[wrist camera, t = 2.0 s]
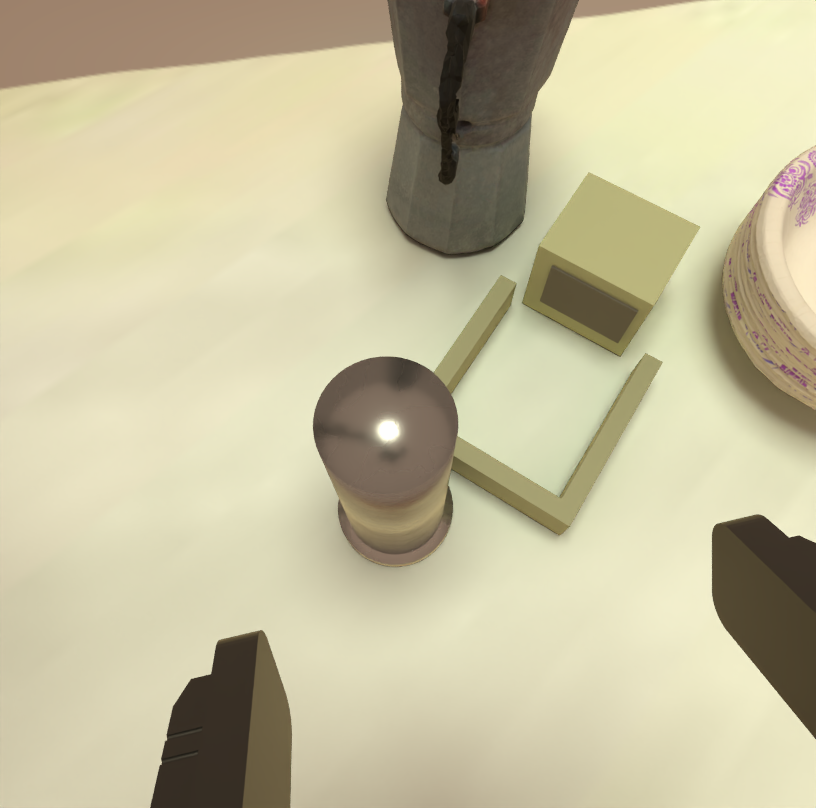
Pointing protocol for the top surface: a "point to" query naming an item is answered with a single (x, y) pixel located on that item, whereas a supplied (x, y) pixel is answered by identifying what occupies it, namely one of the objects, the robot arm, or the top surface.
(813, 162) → the paper bowls
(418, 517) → the flanged base cylinder
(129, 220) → the top surface
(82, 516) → the top surface
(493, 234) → the moka pot
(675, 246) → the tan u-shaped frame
